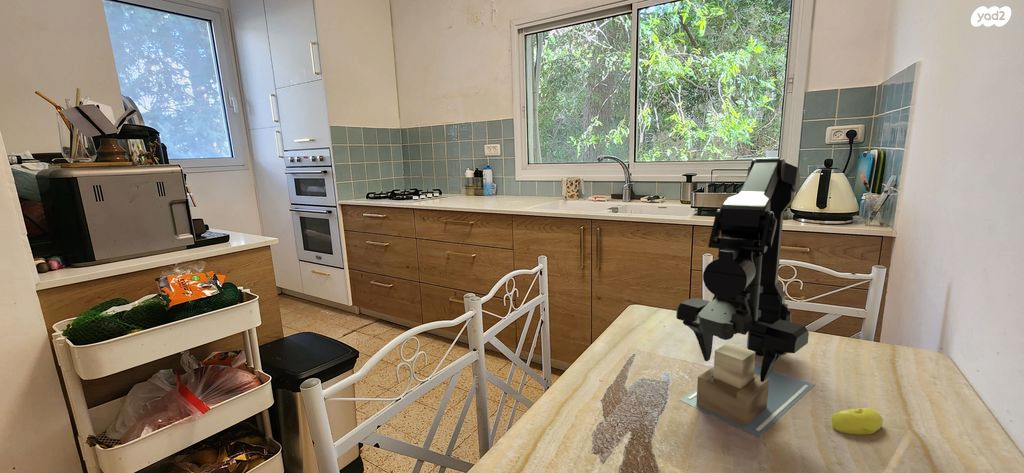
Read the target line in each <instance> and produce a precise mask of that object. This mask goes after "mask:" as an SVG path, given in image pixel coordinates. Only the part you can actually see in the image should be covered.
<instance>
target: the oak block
mask: <svg viewBox="0 0 1024 473" xmlns="http://www.w3.org/2000/svg"><path fill="white" fill-rule="evenodd" d="M713 358H714V362H713V367H714V374H713V378H715V379H717V380H720V381H722V382H725V383H727V384H730V385H732V386H735V387H737V388H740V389H742V388H744V387H745V386H746V385H748V384H749V383H750V382H752V381H753V378H754V365H755V364H756V355H755V351H752V350H749V349H748V348H745V347H743V346H739V345H736V344H733V343H729V342H727V343H726V344H724V345H722V346H719V348H717V349H715V350H714V357H713Z"/></svg>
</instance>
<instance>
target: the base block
mask: <svg viewBox="0 0 1024 473" xmlns="http://www.w3.org/2000/svg"><path fill="white" fill-rule="evenodd" d="M713 374H714V366H712V367H711V368H709V369H708V370H706V371H705V372H703V373H701V374H700V375H698V376H697V383H696V384H697V385H696V387H697V388H696V389H697V403H696V404H697V405H699V406H701V407H703V408H705V409H708V410H710V411H712V412H714V413H716V414H718V415H721V416H723V417H725V418H727V419H729V420H731V421H733V422H736V423H738V424H740V425H742V426H744V427H745V426H746V425H747V424H748V423H749V422H750V421H752V420H753V419H754V418H755V417H756V416H757V415H759V414H760V413H761V412H762V411H763V410H764V409H766V408H767V400H768V388H769V379H768V378H767V379H766V381H764V382H761V381H760V376H759V375H757V374H754V378H753V381H752V382H750V383H749V384H748V385H746V386H745V387H744V388H742V389H740V388H737V387H735V386H732V385H730V384H727V383H725V382H722V381H720V380H717V379H715V378H713Z"/></svg>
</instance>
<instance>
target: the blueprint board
mask: <svg viewBox="0 0 1024 473" xmlns="http://www.w3.org/2000/svg"><path fill="white" fill-rule="evenodd" d="M761 367H762V365H760V364H756V363H755V365H754V374H757V375H759V376H760V373H761ZM767 378H768V379H769V388H768V400H767V408H766V409H764V410H763V411H762V412H761V413H760V414H759V415H757V416H756V417H755V418H754V419H753V420H752V421H750V422H749V423H748V424H747V425H746V426H745V427H744V426H742V425H740V424H738V423H736V422H733V421H731V420H729V419H727V418H725V417H723V416H721V415H718V414H716V413H714V412H712V411H710V410H708V409H705V408H703V407H701V406H699V405H697V404H696V403H697V388H696V389H694V390H693V391H692V392H690V393H689V394H687V395H685V396H684V397H682V398H681V399H680V400H679V401H680V402H682V403H683V404H684V403H685V404H687V405H689V406H691V407H693V408H695V409H698V411H701V412H704V413H706V414H708V415H710V416H711V417H714V418H715V419H719V420H721V421H723V422H724V423H727V424H729V425H731V426H733V427H736V428H737V429H739V430H742V431H744V432H746V433H748V434H751V435H753V436H755V437H757V438H759V437H761V436H762V435H763V434H764V433H765V432H766V431H767V430H768V429H769V428H771V427H772V425H774V424H775V423H776V422H777V421H778V420H779V419H781V417H782V416H783V415H784V414H785V413H787V412H788V411H789V410H790V409H791V408H792V407H793V406H794V405H795V404H796V403H797V402H798V401H799V400H801V399H802V398H803V397H804V396H805V395H806V394H807V393H808V392H809V391H811V389H812V388H813V387H815V385H816V384H815V383H811V382H809V381H807V380H803V379H800V378H797V377H795V376H791V375H789V374H786V373H783V372H780V371H777V370H773V369H772V371H771V372H770V374H769V376H768V377H767Z"/></svg>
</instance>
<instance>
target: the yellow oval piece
mask: <svg viewBox="0 0 1024 473" xmlns="http://www.w3.org/2000/svg"><path fill="white" fill-rule="evenodd" d="M882 426H883V418H882V416H881V415H880V413H879V412H877V411H876V410H874V409H872V408H868V407H867V408H866V407H864V408H863V407H862V408H849V409H845V410H844V409H843V410H838V411H835V413H833V414H832V415H831V427H832V428H833V429H834V430H835V431H838V432H840V433H843V434H849V435H872V434H875V433H876V432H877V431H878V430H879V429H881V427H882Z"/></svg>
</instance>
